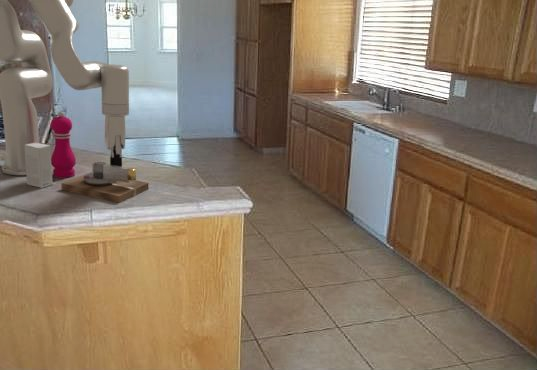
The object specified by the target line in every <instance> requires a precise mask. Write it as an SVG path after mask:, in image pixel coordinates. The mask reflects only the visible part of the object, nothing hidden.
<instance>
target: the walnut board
mask: <svg viewBox="0 0 537 370" xmlns="http://www.w3.org/2000/svg"><path fill="white" fill-rule="evenodd" d="M89 173H92V171H91V172H88V173H85V174H82V175H80V176H77V177H75V178H71V179H69V180H66V181H63V182H61V190H63V191H66V192H71V193H74V194H80V195H84V196H88V197H93V198H96V199H101V200H105V201H110V202H114V203H118V204H120V203H123V202H124V201H126V199H127V200H128V199H130V198H133V197H135V196H138V195H139V194H141V193H144V192H145V191H148V190H149V186H150V185H149V182H145V181H140V180H137V179H136V180H132V182H130V183H126V182H121V181H116V182H115V183H114V184H111V185H107V186H91V185H87V184H85V183H84V176H85V175H86V174H89ZM143 191H144V192H143Z"/></svg>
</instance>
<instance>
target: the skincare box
mask: <svg viewBox="0 0 537 370" xmlns="http://www.w3.org/2000/svg"><path fill="white" fill-rule="evenodd" d="M24 147H25V161H26V174H27V175H26V185H27V186H28V185H29V186H33V187H37V188H41V189H43V188H46V187H50V186H53V168H52V167H53V166H52V164H51V157H52V151H51V145H50V144H44V143H40V142H39V143H31V144H26V145H24Z"/></svg>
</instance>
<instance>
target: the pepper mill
mask: <svg viewBox="0 0 537 370" xmlns="http://www.w3.org/2000/svg"><path fill="white" fill-rule="evenodd" d="M50 128H51V130H52V131H53V133H52V134H53V138H54V141H55V142H54V150H53V152H52V153H51V166H52V167H53V168H52V176H53V177H56V178H61V179H63V178H65V179H66V178H72V177H74V176H75V173H76V172H75V168H74V166H76V164H77V161H76V156H75V154H74V151H73V150H72V147H71V142H70V141H71V139H70V138H71V137H72V135H71V134H72V132H71V130H72V129H73V123H72V120H71V119H70V118H68V117H66V116H65V112H63V111H58V113H57V116H56V117H54V118H53V119H52V120H51V121H50Z"/></svg>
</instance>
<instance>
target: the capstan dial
mask: <svg viewBox="0 0 537 370" xmlns="http://www.w3.org/2000/svg"><path fill="white" fill-rule="evenodd" d="M91 164H92V165H91V170H92V171H91V172H92V173H91V172H88V173H89V174H88V173H85V174H86V175H85V174H84V175H85V176H84V183H85V184H87V185H91V186H107V185H111V184H114V183H115V182H116V181H121V182H126V183H130V182H132V180H137V168H133V167H128V166H127V167H126V166H122V167H121V166H115V165H110V163H109V164H108V163H106V162H104V161H103V162H102V161H95V162H92V163H91Z"/></svg>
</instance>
